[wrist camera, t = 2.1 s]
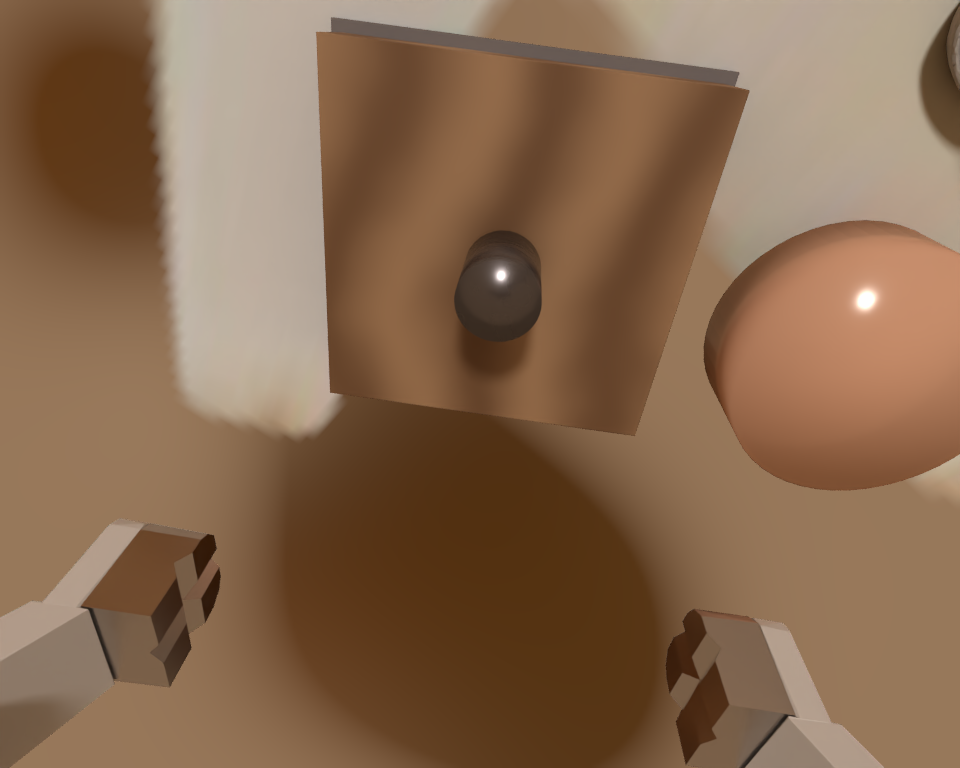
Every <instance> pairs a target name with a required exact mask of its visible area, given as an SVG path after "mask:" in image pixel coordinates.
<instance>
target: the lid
mask: <svg viewBox="0 0 960 768" xmlns="http://www.w3.org/2000/svg"><path fill="white" fill-rule="evenodd" d="M316 36H317V62H318V88H319V114H320V140H321V166H322V192H323V218H324V244H325V270H326V296H327V323H328V349H329V375H330V393H337V394H344V395H351V396H358V397H365V398H372V399H379V400H386V401H393V402H400V403H407V404H414V405H421V406H428V407H435V408H442V409H449V410H456V411H464V412H471V413H477V414H485V415H491V416H498V417H505V418H512V419H519V420H526V421H533V422H540V423H547V424H554V425H561V426H568V427H575V428H582V429H589V430H596V431H603V432H611V433H617V434H624V435H631V436H635V433H636V431H637V427H638V425H639V422H640V418H641V416H642V413H643V410H644V407H645V404H646V400H647V398H648V395H649V391H650V388H651V385H652V383H653V380H654V377H655V373H656V370H657V368H658V364H659V362H660V358H661V356H662V352H663V349H664V346H665V343H666V340H667V338H668V334H669V332H670V329H671V325H672V322H673V319H674V316H675V313H676V310H677V307H678V304H679V301H680V298H681V295H682V292H683V289H684V286H685V283H686V280H687V277H688V274H689V271H690V268H691V265H692V262H693V259H694V256H695V253H696V250H697V247H698V244H699V241H700V238H701V235H702V232H703V229H704V226H705V223H706V220H707V217H708V214H709V211H710V208H711V205H712V202H713V199H714V196H715V193H716V190H717V187H718V184H719V181H720V178H721V175H722V172H723V169H724V166H725V163H726V160H727V157H728V154H729V151H730V148H731V145H732V142H733V139H734V136H735V133H736V130H737V127H738V124H739V121H740V118H741V115H742V112H743V109H744V106H745V103H746V100H747V97H748V94H749V91H750V90H746V89H742V88H738V87H734V86H730V85H726V84H721V83H714V82H706V81H699V80H692V79H684V78H677V77H669V76H662V75H655V74H647V73H640V72H632V71H625V70H618V69H610V68H603V67H595V66H588V65H581V64H573V63H566V62H558V61H551V60H544V59H536V58H529V57H521V56H514V55H507V54H499V53H492V52H484V51H477V50H470V49H462V48H455V47H447V46H440V45H432V44H425V43H418V42H410V41H403V40H395V39H388V38H381V37H373V36H366V35H358V34H351V33H344V32H316Z"/></svg>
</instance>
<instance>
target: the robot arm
mask: <svg viewBox="0 0 960 768" xmlns="http://www.w3.org/2000/svg"><path fill="white" fill-rule="evenodd" d="M216 549H217V548H216V543H215V538H214V535H210V534H205V533H199V532H194V531H189V530H184V529H178V528H173V527H167V526H162V525H156V524H151V523H145V522H139V521H133V520H127V519H121V518H120V519H118V520H116V521H115V522H113V523H111V524H110V525H108V526H107V528H106V529H105V530H104V531H103V532H102V533H101V535H100V536H99V537H98V538H97V539H96V540H95V542H94V543H93V544H92V545H91V546H90V547H89V548H88V550H87V551H86V552H85V553H84V554H83V555H82V556H81V558H80V559H79V560H78V561H77V562H76V563H75V565H74V566H73V567H72V568H71V569H70V570H69V572H68V573H67V574H66V575H65V576H64V577H63V578H62V580H61V581H60V582H59V583H58V584H57V585H56V587H55V588H54V589H53V590H52V591H51V592H50V594H49V595H48V596H47V597H46V598H45V599H44V600H43V602H41V601H31V602H29V603H27V604H25V605H23V606H21V607H19V608H17V609H15V610H13V611H12V612H10V613H8V614H6V615H4V616H2V617H0V768H9V767H11V766H12V765H13V764H15V763H16V762H17V761H18V760H20V759H21V758H22V757H23V756H25V755H26V754H27V753H29V752H30V751H31V750H32V749H34V748H35V747H36V746H37V745H39V744H40V743H41V742H42V741H44V740H45V739H46V738H47V737H49V736H50V735H51V734H53V733H54V732H55V731H56V730H57V729H59V728H60V727H61V726H63V725H64V724H65V723H66V722H68V721H69V720H70V719H72V718H73V717H74V716H75V715H76V714H78V713H79V712H80V711H82V710H83V709H84V708H85V707H87V706H88V705H89V704H90V703H92V702H93V701H94V700H95V699H97V698H98V697H99V696H100V695H102V694H103V693H104V692H106V691H107V690H108V689H109V688H111V687H112V686H113V685H114V684H115V682H114V681H121V682H129V683H138V684H145V685H154V686H162V687H170V686H171V684H172V682H173V680H174V679H175V677H176V675H177V673H178V671H179V670H180V668H181V666H182V664H183V662H184V661H185V659H186V657H187V655H188V653H189V652H190V650H191V642H190V637H189V634H190V633H191V632H193V631H194V630H195V629H197V628H199V627H200V626H201V625H203V624H204V623H205V622H206V621H207V619H208V617H209V615H210V613H211V611H212V609H213V607H214V604H215V601H216V598H217V595H218V592H219V588H220V578H221V575H220V568H219V566H218V565H217V564H216V563H215V562H214V561H213V560H212V559H211V558H212V556H213V554H214V552H215V551H216ZM683 625H684V629H685V632H683V633H681V634H679V635H677V636H675V637H673V640H672V642H671V644H670V646H669V648H668V651H667V658H666V679H667V684H668V689H669V693H670V695H671V696H672V698H673V699H674V700H675V701H676V703H677V704H678V705H679V706H680V708H681V709H682V710H681V712H680V714H679V716H678V718H677V720H676V725H677V729H678V734H679V737H680V742H681V746H682V751H683V755H684V759H685V764H686V765H688V766H693V767H699V768H884V767H883V766H882V765H881V764H880V763H879V762H878V761H877V760H876V759H875V758H874V757H873V756H872V755H871V754H870V753H869V752H868V751H867V750H866V749H865V748H864V747H863V746H862V745H861V744H860V743H859V742H858V741H857V740H856V739H855V738H854V737H853V736H852V735H851V734H850V733H849V732H848V731H847V730H846V729H845V728H844V727H843V726H842V725H841V724H837V723H832V722H831V720H830V719H829V716H828V714H827V712H826V709H825V707H824V706H823V703H822V701H821V699H820V696H819V694H818V692H817V690H816V688H815V685H814V683H813V681H812V679H811V677H810V675H809V672H808V670H807V668H806V666H805V664H804V662H803V659H802V657H801V655H800V653H799V651H798V648H797V646H796V644H795V642H794V640H793V637H792V635H791V633H790V631H789V629H788V628H787V627H786V626H785V625H784V624H783V623H781V622H775V621H769V620H762V619H755V618H749V617H747V616H740V615H733V614H726V613H718V612H712V611H704V610H698V609H693V610H691V611H689V612H688V613H687V615H686V616H685V618H684V620H683Z"/></svg>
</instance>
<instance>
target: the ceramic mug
mask: <svg viewBox="0 0 960 768" xmlns="http://www.w3.org/2000/svg"><path fill="white" fill-rule="evenodd" d="M946 51H947V59H948V65H949V68H950V70H951V73H952V76H953V79H954V81H955V83H956V85H957V87H958V89H959V90H960V5H959V7H958V9H957V11H956V13H955V15H954V17H953V20H952V23H951V26H950V29H949V33H948V36H947V42H946Z"/></svg>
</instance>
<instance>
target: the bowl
mask: <svg viewBox="0 0 960 768" xmlns="http://www.w3.org/2000/svg"><path fill="white" fill-rule="evenodd" d="M704 363H705V369H706V373H707V376H708V379H709V382H710V384H711V386H712V388H713V390H714V392H715V394H716V396H717V398H718V400H719V402H720V404H721V406H722V408H723V410H724V412H725V414H726V416H727V418H728V420H729V422H730V424H731V426H732V428H733V430H734V432H735V434H736V436H737V438H738V440H739V442H740V444H741V445H742V447H743V449H744V450H745V452H746V453H747V454H748V455H749V456H750V458H751V459H752V460H753V461H754V462H755V463H757V464H758V465H759V466H760V467H761V468H763V469H764V470H766V471H767V472H769V473H771V474H772V475H774V476H776V477H778V478H780V479H783V480H784V481H787V482H790V483H793V484H797V485H799V486H804V487H809V488H814V489H822V490H857V489H867V488H872V487H878V486H884V485H888V484H892V483H895V482H899V481H903V480H906V479H908V478H911V477H914V476H917V475H920V474H922V473H924V472H927V471H929V470H931V469H933V468H936V467H938V466H940V465H941V464H943V463H945V462H947V461H949V460H951V459H952V458H954V457H956V456H957V455H959V454H960V254H959V253H957V252H955V251H953V250H952V249H950V248H948V247H946V246H944V245H942V244H940V243H938V242H936V241H934V240H932V239H930V238H928V237H926V236H924V235H922V234H920V233H919V232H917V231H915V230H912V229H909V228H907V227H904V226H901V225H897V224H893V223H888V222H883V221H868V220H863V221H847V222H841V223H835V224H829V225H826V226H822V227H819V228H815V229H812V230H809V231H807V232H804V233H802V234H799V235H797V236H794V237H792V238H790V239H788V240H786V241H784V242H783V243H781V244H779V245H777V246H775V247H774V248H772V249H771V250H769V251H768V252H766V253H765V254H763V255H762V256H760V257H759V258H758V259H757V260H756V261H754V262H753V263H752V264H751V265H749V266H748V267H747V268H746V269H745V270H744V271H743V272H742V273H741V274H740V275H739V276H738V277H737V278H736V279H735V280H734V281H733V283H732V284H731V285H730V287H729V288H728V289H727V290H726V292H725V293H724V294H723V296H722V298H721V299H720V301H719V303H718V304H717V306H716V308H715V310H714V312H713V315H712V317H711V319H710V321H709V325H708V328H707V332H706V336H705V343H704Z"/></svg>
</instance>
